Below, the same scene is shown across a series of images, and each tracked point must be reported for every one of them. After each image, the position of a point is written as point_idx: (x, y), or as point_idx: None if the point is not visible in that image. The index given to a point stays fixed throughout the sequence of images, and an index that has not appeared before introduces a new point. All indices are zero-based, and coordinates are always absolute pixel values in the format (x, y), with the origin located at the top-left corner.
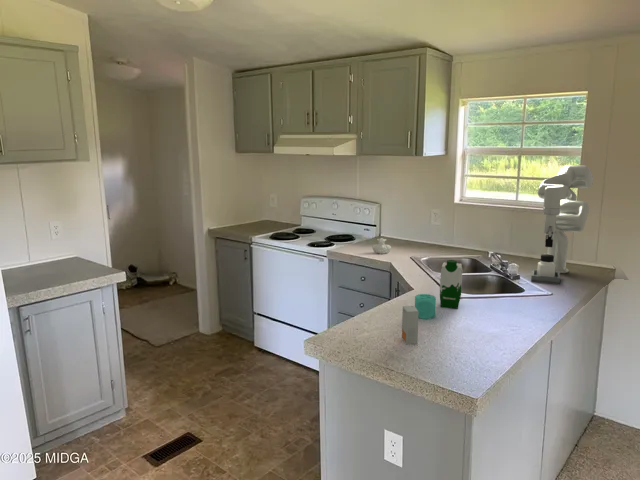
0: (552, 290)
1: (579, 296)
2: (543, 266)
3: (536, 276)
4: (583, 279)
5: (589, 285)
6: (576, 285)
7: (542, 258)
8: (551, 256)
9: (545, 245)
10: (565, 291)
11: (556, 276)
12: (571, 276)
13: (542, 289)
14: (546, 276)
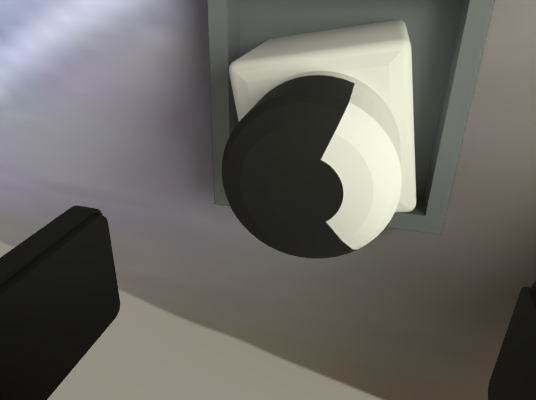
0: (45, 114)
1: (15, 241)
2: (234, 95)
3: (209, 11)
4: (431, 351)
5: (277, 342)
6: (245, 276)
7: (256, 104)
8: (248, 226)
9: (62, 217)
10: (69, 189)
11: None
12: (512, 301)
13: (30, 48)
14: (228, 103)
